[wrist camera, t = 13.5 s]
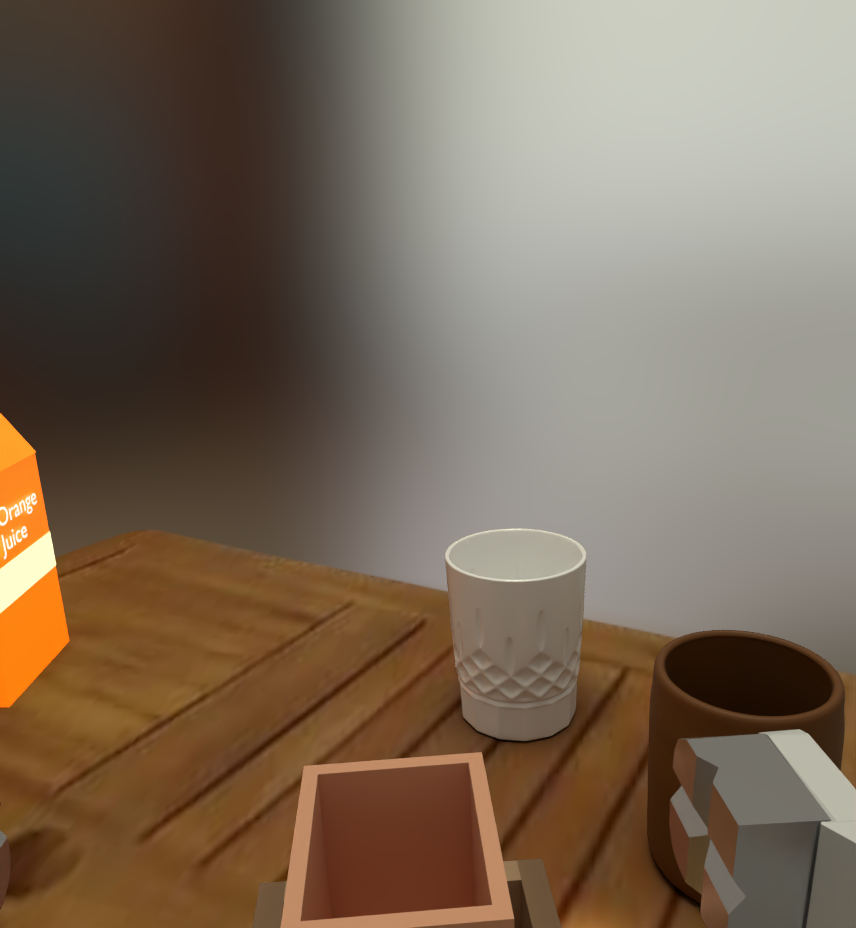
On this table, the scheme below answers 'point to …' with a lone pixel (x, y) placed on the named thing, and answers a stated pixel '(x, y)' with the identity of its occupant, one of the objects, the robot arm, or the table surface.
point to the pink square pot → (397, 847)
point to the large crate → (524, 881)
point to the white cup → (517, 629)
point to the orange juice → (25, 572)
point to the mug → (732, 710)
